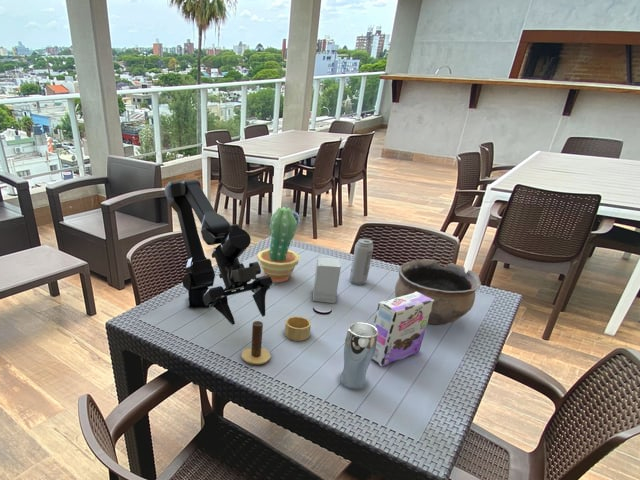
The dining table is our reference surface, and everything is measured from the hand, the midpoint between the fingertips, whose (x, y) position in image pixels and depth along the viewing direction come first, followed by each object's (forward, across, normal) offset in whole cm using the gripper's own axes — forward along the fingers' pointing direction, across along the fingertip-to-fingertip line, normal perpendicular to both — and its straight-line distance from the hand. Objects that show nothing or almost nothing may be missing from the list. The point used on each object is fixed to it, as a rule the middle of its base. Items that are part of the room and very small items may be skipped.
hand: (249, 320), depth 113 cm
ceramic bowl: (+14, +58, -1) cm, 59 cm away
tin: (+6, +17, +7) cm, 19 cm away
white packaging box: (-4, +39, +18) cm, 43 cm away
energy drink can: (-7, +58, +21) cm, 62 cm away
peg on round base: (+9, 0, +3) cm, 10 cm away
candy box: (+21, +33, -8) cm, 40 cm away
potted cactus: (-19, +35, +33) cm, 51 cm away
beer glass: (+24, +16, -10) cm, 30 cm away
